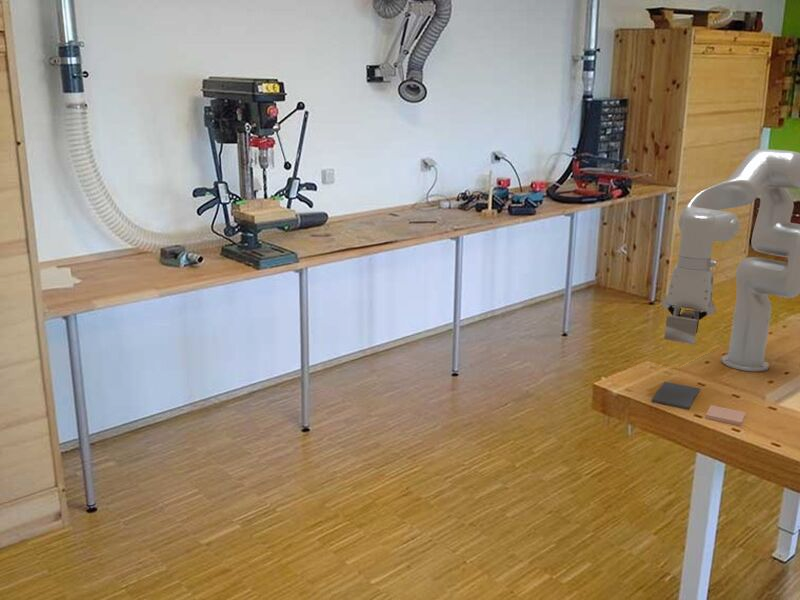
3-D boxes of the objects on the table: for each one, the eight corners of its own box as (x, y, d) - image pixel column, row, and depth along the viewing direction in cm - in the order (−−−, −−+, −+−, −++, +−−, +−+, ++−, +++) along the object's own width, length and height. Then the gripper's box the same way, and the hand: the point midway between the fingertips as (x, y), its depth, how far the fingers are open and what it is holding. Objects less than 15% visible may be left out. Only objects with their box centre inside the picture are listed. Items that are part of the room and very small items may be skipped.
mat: (664, 383, 211) (664, 381, 211) (699, 390, 207) (699, 388, 207) (651, 401, 198) (651, 399, 198) (688, 409, 194) (689, 407, 194)
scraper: (675, 326, 205) (677, 304, 204) (703, 330, 202) (706, 308, 200) (664, 339, 194) (667, 316, 193) (693, 344, 191) (696, 320, 189)
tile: (710, 405, 195) (706, 414, 189) (745, 412, 191) (741, 422, 185) (709, 410, 195) (705, 420, 189) (744, 417, 191) (740, 428, 185)
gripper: (731, 264, 193) (721, 335, 198) (663, 256, 201) (655, 324, 206) (726, 270, 187) (716, 343, 192) (656, 261, 194) (648, 332, 199)
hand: (684, 333), depth 199 cm, fingers closed on scraper, 3 cm apart
